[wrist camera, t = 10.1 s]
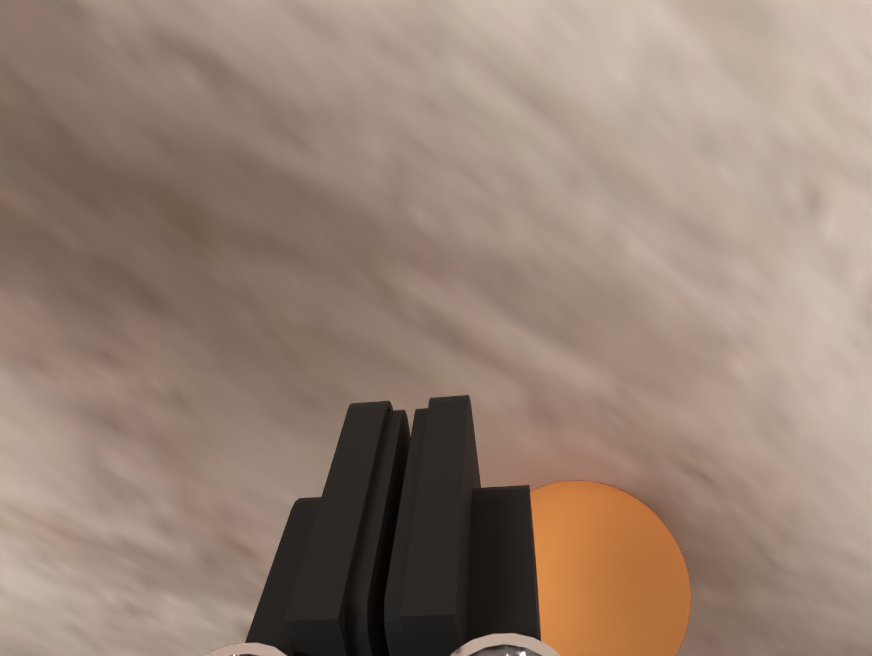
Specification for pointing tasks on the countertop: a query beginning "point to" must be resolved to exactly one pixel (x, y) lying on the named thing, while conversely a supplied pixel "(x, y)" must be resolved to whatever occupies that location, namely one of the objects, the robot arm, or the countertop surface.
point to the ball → (607, 573)
